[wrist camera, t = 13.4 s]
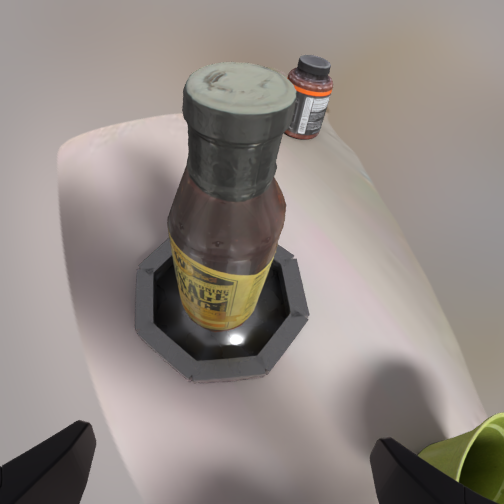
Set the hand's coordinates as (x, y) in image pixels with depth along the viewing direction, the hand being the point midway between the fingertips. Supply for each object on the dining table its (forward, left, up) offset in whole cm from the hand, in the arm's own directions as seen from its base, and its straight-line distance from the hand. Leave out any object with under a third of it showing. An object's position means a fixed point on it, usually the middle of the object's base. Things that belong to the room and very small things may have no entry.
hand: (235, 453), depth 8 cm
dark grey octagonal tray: (+12, -1, -16) cm, 19 cm away
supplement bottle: (+37, -14, -16) cm, 42 cm away
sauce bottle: (+11, -1, -15) cm, 19 cm away
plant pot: (-8, -18, -16) cm, 25 cm away
